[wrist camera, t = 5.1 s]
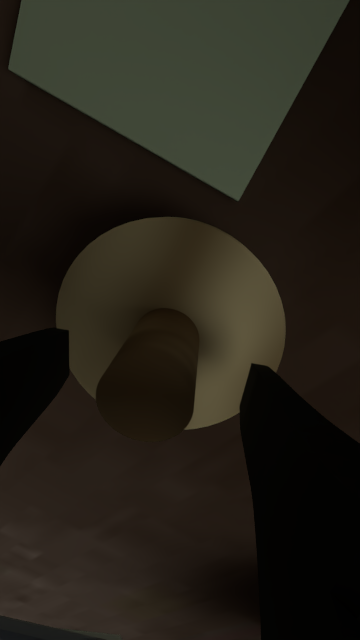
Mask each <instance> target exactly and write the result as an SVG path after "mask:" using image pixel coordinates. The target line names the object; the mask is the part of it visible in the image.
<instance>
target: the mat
mask: <svg viewBox="0 0 360 640" xmlns="http://www.w3.org/2000/svg"><path fill="white" fill-rule="evenodd" d="M348 2H349V0H22V1H21V6H20V11H19V16H18V21H17V26H16V31H15V36H14V41H13V46H12V51H11V56H10V61H9V66H8V69H9V70H10V71H12V72H13V73H15V74H16V75H18V76H19V77H21V78H23V79H25V80H26V81H28V82H30V83H32V84H33V85H35V86H37V87H38V88H40V89H42V90H44V91H45V92H47V93H49V94H51V95H52V96H54V97H56V98H58V99H59V100H61V101H63V102H65V103H66V104H68V105H70V106H72V107H73V108H75V109H77V110H79V111H80V112H82V113H84V114H85V115H87V116H89V117H91V118H92V119H94V120H96V121H98V122H99V123H101V124H103V125H105V126H106V127H108V128H110V129H112V130H113V131H115V132H117V133H119V134H120V135H122V136H124V137H126V138H127V139H129V140H131V141H132V142H134V143H136V144H138V145H139V146H141V147H143V148H145V149H146V150H148V151H150V152H152V153H153V154H155V155H157V156H159V157H160V158H162V159H164V160H166V161H167V162H169V163H171V164H173V165H174V166H176V167H178V168H180V169H181V170H183V171H185V172H186V173H188V174H190V175H192V176H193V177H195V178H197V179H199V180H200V181H202V182H204V183H206V184H207V185H209V186H211V187H213V188H214V189H216V190H218V191H220V192H221V193H223V194H225V195H227V196H228V197H230V198H232V199H233V200H235V201H237V202H238V201H239V199H240V197H241V196H242V194H243V192H244V190H245V188H246V186H247V185H248V183H249V181H250V179H251V177H252V176H253V174H254V172H255V170H256V168H257V167H258V165H259V163H260V161H261V159H262V158H263V156H264V154H265V152H266V150H267V148H268V147H269V145H270V143H271V141H272V139H273V138H274V136H275V134H276V132H277V130H278V129H279V127H280V125H281V123H282V121H283V120H284V118H285V116H286V114H287V112H288V110H289V109H290V107H291V105H292V103H293V101H294V100H295V98H296V96H297V94H298V92H299V91H300V89H301V87H302V85H303V83H304V82H305V80H306V78H307V76H308V74H309V73H310V71H311V69H312V67H313V65H314V63H315V62H316V60H317V58H318V56H319V54H320V53H321V51H322V49H323V47H324V45H325V44H326V42H327V40H328V38H329V36H330V35H331V33H332V31H333V29H334V27H335V25H336V24H337V22H338V20H339V18H340V16H341V15H342V13H343V11H344V9H345V7H346V6H347V4H348Z"/></svg>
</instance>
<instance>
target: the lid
mask: <svg viewBox="0 0 360 640" xmlns="http://www.w3.org/2000/svg"><path fill="white" fill-rule="evenodd" d="M56 327H57V328H59V329H64V330H69V368H70V370H71V372H72V373H73V374H74V376H75V377H76V379H77V380H78V382H79V383H80V384H81V385H82V386H83V388H84V389H85V390H86V391H87V392H88V393H89V394H90V395H91V396H92V397H93V398H94V399H96V402H97V406H98V409H99V411H100V413H101V415H102V417H103V418H104V420H105V421H106V422H107V423H108V424H109V425H110V426H111V427H112V428H113V429H115V430H116V431H117V432H119V433H121V434H122V435H124V436H126V437H129V438H131V439H134V440H139V441H145V442H158V441H163V440H167V439H170V438H172V437H174V436H176V435H178V434H179V433H181V432H182V431H183V430H186V429H196V428H201V427H206V426H210V425H213V424H216V423H219V422H221V421H224V420H226V419H228V418H231V417H232V416H234V415H236V414H237V413H239V412H240V409H239V406H240V402H241V399H242V395H243V392H244V388H245V385H246V381H247V377H248V374H249V370H250V367H251V363H254V364H260V365H265V366H268V367H270V368H271V369H272V370H273V371H274V372H275V373H276V371H277V368H278V366H279V363H280V361H281V358H282V354H283V349H284V345H285V333H286V328H285V315H284V310H283V306H282V301H281V298H280V296H279V293H278V291H277V288H276V286H275V284H274V282H273V280H272V279H271V277H270V275H269V273H268V272H267V270H266V269H265V268H264V266H263V265H262V264H261V262H260V261H259V260H258V259H257V258H256V257H255V256H254V255H253V254H252V253H251V252H250V251H249V250H248V249H247V248H246V247H245V246H244V245H243V244H242V243H240V242H239V241H238V240H236V239H235V238H234V237H232V236H231V235H229V234H228V233H226V232H224V231H222V230H220V229H218V228H216V227H214V226H212V225H209V224H206V223H203V222H201V221H197V220H192V219H187V218H179V217H157V218H145V219H141V220H136V221H132V222H128V223H126V224H123V225H120V226H118V227H115V228H113V229H111V230H109V231H108V232H106V233H104V234H102V235H100V236H99V237H98V238H97V239H95V240H94V241H93V242H91V243H90V244H89V245H88V246H87V247H86V248H85V249H84V250H83V251H82V252H81V253H80V254H79V255H78V256H77V258H76V259H75V260H74V262H73V263H72V265H71V266H70V268H69V269H68V271H67V273H66V275H65V277H64V279H63V282H62V285H61V288H60V291H59V294H58V300H57V306H56Z"/></svg>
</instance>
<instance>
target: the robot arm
mask: <svg viewBox="0 0 360 640" xmlns="http://www.w3.org/2000/svg"><path fill="white" fill-rule="evenodd" d="M68 376H69V330H64V329H59V328H49V329H44V330H40V331H36V332H32V333H29V334H25V335H22V336H18V337H15V338H11V339H8V340H4V341H1V342H0V465H1V464H2V463H3V461H4V460H5V458H6V457H7V455H8V454H9V452H10V451H11V450H12V449H13V447H14V446H15V445H16V443H17V442H18V441H19V440H20V439H21V437H22V436H23V435H24V434H25V433H26V431H27V430H28V429H29V428H30V427H31V425H32V424H33V423H34V422H35V421H36V420H37V418H38V417H39V416H40V415H41V414H42V412H43V411H44V410H45V409H46V408H47V406H48V405H49V404H50V403H51V402H52V400H53V399H54V398H55V397H56V395H57V394H58V392H59V391H60V389H61V388H62V386H63V384H64V383H65V381H66V379H67V378H68ZM239 409H240V430H241V436H242V442H243V447H244V453H245V458H246V464H247V469H248V475H249V480H250V485H251V492H252V499H253V508H254V520H255V532H256V546H257V561H258V577H259V597H260V617H261V640H360V443H358V442H357V441H355V440H354V439H352V438H351V437H350V436H348V435H347V434H346V433H344V432H343V431H342V430H340V429H339V428H337V427H336V426H335V425H333V424H332V423H331V422H330V421H328V420H327V419H326V418H325V417H323V416H322V415H321V414H320V413H319V412H318V411H316V410H315V409H314V408H313V407H312V406H310V405H309V404H308V403H307V402H306V401H305V400H304V399H303V398H302V397H300V396H299V395H298V394H297V393H296V392H295V391H294V390H293V389H292V388H291V387H290V386H289V385H288V384H287V383H286V382H285V381H284V380H283V379H282V378H281V377H280V376H278V375H277V374H276V373H275V372H274V371H273V370H272V369H271V368H270V367H268V366H265V365H260V364H254V363H251V367H250V370H249V374H248V377H247V381H246V385H245V388H244V392H243V395H242V399H241V402H240V406H239ZM0 640H106V639H102V638H97V637H93V636H88V635H84V634H80V633H75V632H71V631H66V630H62V629H58V628H53V627H49V626H44V625H40V624H36V623H31V622H27V621H22V620H18V619H13V618H9V617H5V616H0Z"/></svg>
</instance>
